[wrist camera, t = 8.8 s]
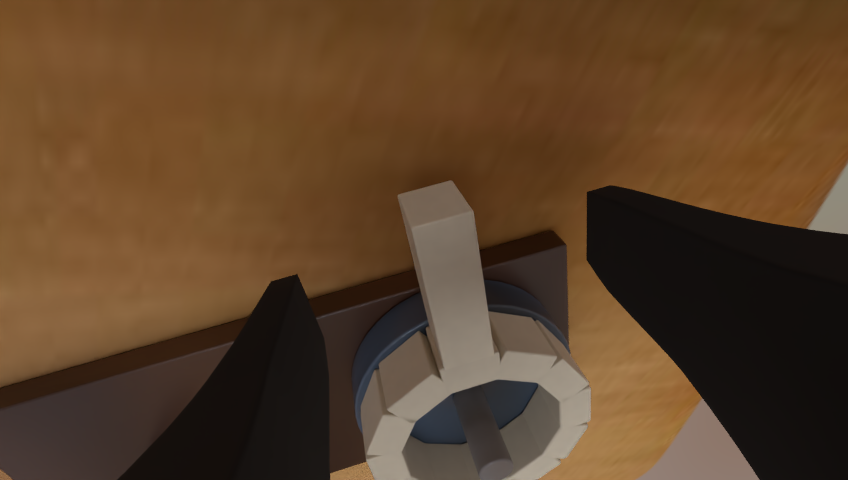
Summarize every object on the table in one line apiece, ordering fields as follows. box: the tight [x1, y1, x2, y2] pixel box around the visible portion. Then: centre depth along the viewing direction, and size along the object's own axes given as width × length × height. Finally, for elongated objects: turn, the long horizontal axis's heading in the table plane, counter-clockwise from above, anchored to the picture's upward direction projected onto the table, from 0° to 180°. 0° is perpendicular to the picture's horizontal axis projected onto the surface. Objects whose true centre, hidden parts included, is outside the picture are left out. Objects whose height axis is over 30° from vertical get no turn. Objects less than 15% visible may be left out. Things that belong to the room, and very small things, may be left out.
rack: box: [0, 231, 570, 480], centre depth 17 cm, size 22×9×6 cm, turn 101°
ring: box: [361, 180, 591, 480], centre depth 15 cm, size 8×13×2 cm, turn 11°
